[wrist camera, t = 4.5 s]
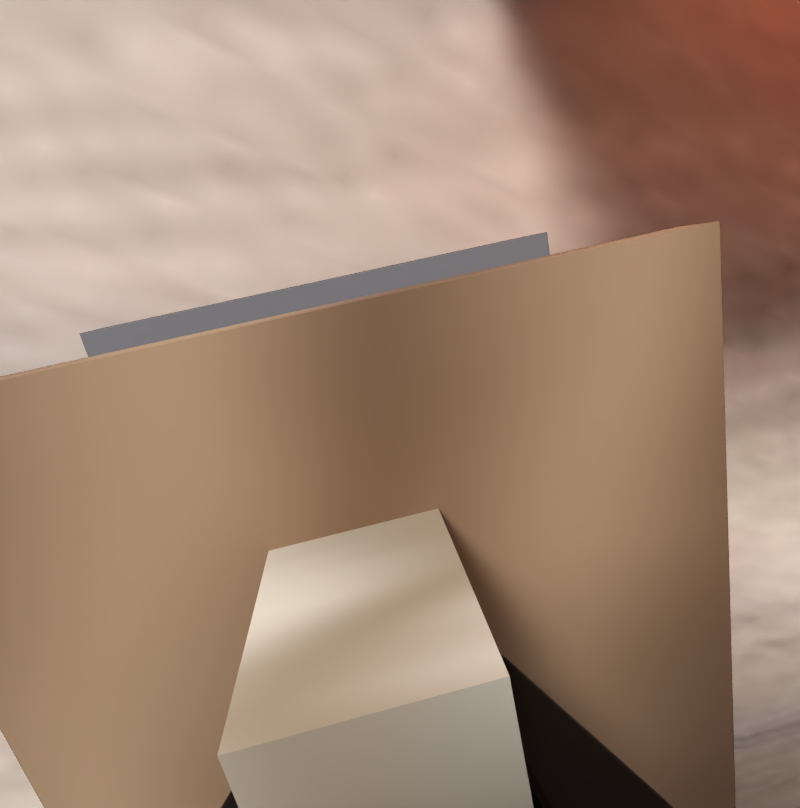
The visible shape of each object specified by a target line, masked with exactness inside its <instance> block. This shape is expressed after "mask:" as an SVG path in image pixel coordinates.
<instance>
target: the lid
mask: <svg viewBox="0 0 800 808" xmlns="http://www.w3.org/2000/svg"><path fill="white" fill-rule="evenodd" d="M500 654H502V655H503V656H505V657H506V658H507V659H508V660H509V661H510V662H512V663H513V664H514V665H515V666H516V667H517V668H518V669H519V670H521V671H522V672H523V673H524V674H525V675H526V676H527V677H528V678H529V679H531V680H532V681H533V682H534V683H535V684H536V685H537V686H538V687H540V688H541V689H542V690H543V691H544V692H545V693H546V694H547V695H549V696H550V697H551V698H552V699H553V700H554V701H555V702H556V703H558V704H559V705H560V706H561V707H562V708H563V709H564V710H565V711H566V712H568V713H569V714H570V715H571V716H572V717H573V718H574V719H575V720H577V721H578V722H579V723H580V724H581V725H582V726H583V727H584V728H586V729H587V730H588V731H589V732H590V733H591V734H592V735H593V736H595V737H596V738H597V739H598V740H599V741H600V742H601V743H602V744H603V745H605V746H606V747H607V748H608V749H609V750H610V751H611V752H612V753H614V754H615V755H616V756H617V757H618V758H619V759H620V760H621V761H623V762H624V763H625V764H626V765H627V766H628V767H629V768H630V769H632V770H633V771H634V772H635V773H636V774H637V775H638V776H639V777H641V778H642V779H643V780H644V781H645V782H646V783H647V784H648V785H649V786H651V787H652V788H653V789H654V790H655V791H656V792H657V793H658V794H660V795H661V796H662V797H663V798H664V799H665V800H666V801H667V802H669V803H670V804H671V805H672V806H673V807H674V808H736V806H735V769H734V731H733V694H732V657H731V620H730V583H729V546H728V509H727V471H726V434H725V397H724V360H723V323H722V286H721V248H720V221H717V222H709V223H702V224H695V225H687V226H680V227H675V228H670V229H666V230H661V231H657V232H652V233H648V234H643V235H639V236H634V237H630V238H625V239H621V240H616V241H612V242H607V243H602V244H598V245H593V246H589V247H584V248H580V249H575V250H571V251H566V252H562V253H557V254H553V255H548V256H544V257H539V258H535V259H530V260H526V261H521V262H517V263H512V264H508V265H503V266H498V267H494V268H489V269H485V270H480V271H476V272H471V273H467V274H462V275H458V276H453V277H449V278H444V279H440V280H435V281H431V282H426V283H422V284H417V285H413V286H408V287H403V288H399V289H394V290H390V291H385V292H381V293H376V294H372V295H367V296H363V297H358V298H354V299H349V300H345V301H340V302H336V303H331V304H327V305H322V306H318V307H313V308H308V309H304V310H299V311H295V312H290V313H286V314H281V315H277V316H272V317H268V318H263V319H259V320H254V321H250V322H245V323H241V324H236V325H232V326H227V327H223V328H218V329H214V330H209V331H204V332H200V333H195V334H191V335H186V336H182V337H177V338H173V339H168V340H164V341H159V342H155V343H150V344H146V345H141V346H137V347H132V348H128V349H123V350H119V351H114V352H109V353H105V354H100V355H96V356H91V357H87V358H82V359H78V360H73V361H69V362H64V363H60V364H55V365H51V366H46V367H42V368H37V369H33V370H28V371H24V372H19V373H14V374H10V375H5V376H1V377H0V730H1V731H2V733H3V735H4V737H5V739H6V740H7V742H8V744H9V746H10V747H11V749H12V751H13V753H14V755H15V756H16V758H17V760H18V762H19V764H20V765H21V767H22V769H23V771H24V773H25V774H26V776H27V778H28V780H29V781H30V783H31V785H32V787H33V789H34V790H35V792H36V794H37V796H38V798H39V799H40V801H41V803H42V805H43V807H44V808H221V806H222V805H223V803H224V801H225V799H226V798H227V796H228V794H229V793H230V791H232V793H233V795H234V798H235V800H236V803H237V805H238V808H534V807H533V802H532V796H531V791H530V785H529V780H528V774H527V769H526V764H525V758H524V753H523V747H522V742H521V736H520V731H519V725H518V720H517V714H516V709H515V703H514V698H513V692H512V687H511V681H510V676H509V673H508V671H507V669H506V666H505V664H504V662H503V659H502V657H501V655H500Z"/></svg>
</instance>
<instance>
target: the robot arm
mask: <svg viewBox="0 0 800 808" xmlns="http://www.w3.org/2000/svg"><path fill="white" fill-rule="evenodd" d="M500 655H501V657H502V659H503V662H504V664H505V666H506V669H507V671H508V673H509V676H510V681H511V687H512V692H513V698H514V703H515V709H516V714H517V720H518V725H519V731H520V736H521V742H522V747H523V753H524V758H525V764H526V769H527V774H528V780H529V785H530V791H531V796H532V802H533V807H534V808H674V807H673V806H672V805H671V804H670V803H669V802H667V801H666V800H665V799H664V798H663V797H662V796H661V795H660V794H658V793H657V792H656V791H655V790H654V789H653V788H652V787H651V786H649V785H648V784H647V783H646V782H645V781H644V780H643V779H642V778H641V777H639V776H638V775H637V774H636V773H635V772H634V771H633V770H632V769H630V768H629V767H628V766H627V765H626V764H625V763H624V762H623V761H621V760H620V759H619V758H618V757H617V756H616V755H615V754H614V753H612V752H611V751H610V750H609V749H608V748H607V747H606V746H605V745H603V744H602V743H601V742H600V741H599V740H598V739H597V738H596V737H595V736H593V735H592V734H591V733H590V732H589V731H588V730H587V729H586V728H584V727H583V726H582V725H581V724H580V723H579V722H578V721H577V720H575V719H574V718H573V717H572V716H571V715H570V714H569V713H568V712H566V711H565V710H564V709H563V708H562V707H561V706H560V705H559V704H558V703H556V702H555V701H554V700H553V699H552V698H551V697H550V696H549V695H547V694H546V693H545V692H544V691H543V690H542V689H541V688H540V687H538V686H537V685H536V684H535V683H534V682H533V681H532V680H531V679H529V678H528V677H527V676H526V675H525V674H524V673H523V672H522V671H521V670H519V669H518V668H517V667H516V666H515V665H514V664H513V663H512V662H510V661H509V660H508V659H507V658H506V657H505V656H503V655H502V654H500ZM221 808H238V805H237V803H236V800H235V798H234V795H233V793H232V791H230V793H229V794H228V796H227V798H226V799H225V801H224V803H223V805H222V806H221Z"/></svg>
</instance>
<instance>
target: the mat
mask: <svg viewBox="0 0 800 808" xmlns="http://www.w3.org/2000/svg"><path fill="white" fill-rule="evenodd" d="M548 255H550V254H549V245H548V237H547V232H545V233H540V234H535V235H530V236H525V237H521V238H516V239H511V240H507V241H502V242H498V243H493V244H488V245H484V246H479V247H475V248H470V249H465V250H461V251H456V252H452V253H447V254H442V255H438V256H433V257H429V258H424V259H419V260H415V261H410V262H406V263H401V264H396V265H392V266H387V267H383V268H378V269H373V270H369V271H364V272H359V273H355V274H350V275H346V276H341V277H336V278H332V279H327V280H323V281H318V282H313V283H309V284H304V285H300V286H295V287H290V288H286V289H281V290H277V291H272V292H267V293H263V294H258V295H254V296H249V297H244V298H240V299H235V300H231V301H226V302H221V303H217V304H212V305H207V306H203V307H198V308H194V309H189V310H184V311H180V312H175V313H171V314H166V315H161V316H157V317H152V318H148V319H143V320H138V321H134V322H129V323H125V324H120V325H115V326H111V327H106V328H102V329H97V330H93V331H88V332H84V333H80V336H81V339H82V341H83V344H84V346H85V349H86V352H87V354H88V357H91V356H96V355H100V354H105V353H109V352H114V351H119V350H123V349H128V348H132V347H137V346H141V345H146V344H150V343H155V342H159V341H164V340H168V339H173V338H177V337H182V336H186V335H191V334H195V333H200V332H204V331H209V330H214V329H218V328H223V327H227V326H232V325H236V324H241V323H245V322H250V321H254V320H259V319H263V318H268V317H272V316H277V315H281V314H286V313H290V312H295V311H299V310H304V309H308V308H313V307H318V306H322V305H327V304H331V303H336V302H340V301H345V300H349V299H354V298H358V297H363V296H367V295H372V294H376V293H381V292H385V291H390V290H394V289H399V288H403V287H408V286H413V285H417V284H422V283H426V282H431V281H435V280H440V279H444V278H449V277H453V276H458V275H462V274H467V273H471V272H476V271H480V270H485V269H489V268H494V267H498V266H503V265H508V264H512V263H517V262H521V261H526V260H530V259H535V258H539V257H544V256H548Z"/></svg>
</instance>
